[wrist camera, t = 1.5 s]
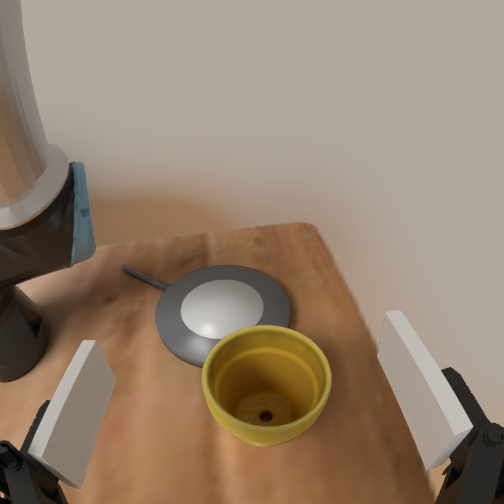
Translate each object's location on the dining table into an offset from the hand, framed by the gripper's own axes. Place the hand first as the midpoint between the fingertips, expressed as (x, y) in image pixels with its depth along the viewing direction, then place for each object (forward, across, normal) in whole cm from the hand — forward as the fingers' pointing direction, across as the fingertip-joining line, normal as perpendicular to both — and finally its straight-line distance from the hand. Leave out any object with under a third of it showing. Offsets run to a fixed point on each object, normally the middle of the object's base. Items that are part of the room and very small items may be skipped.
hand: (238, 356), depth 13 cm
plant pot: (+8, 0, -18) cm, 20 cm away
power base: (+27, -9, -14) cm, 32 cm away
